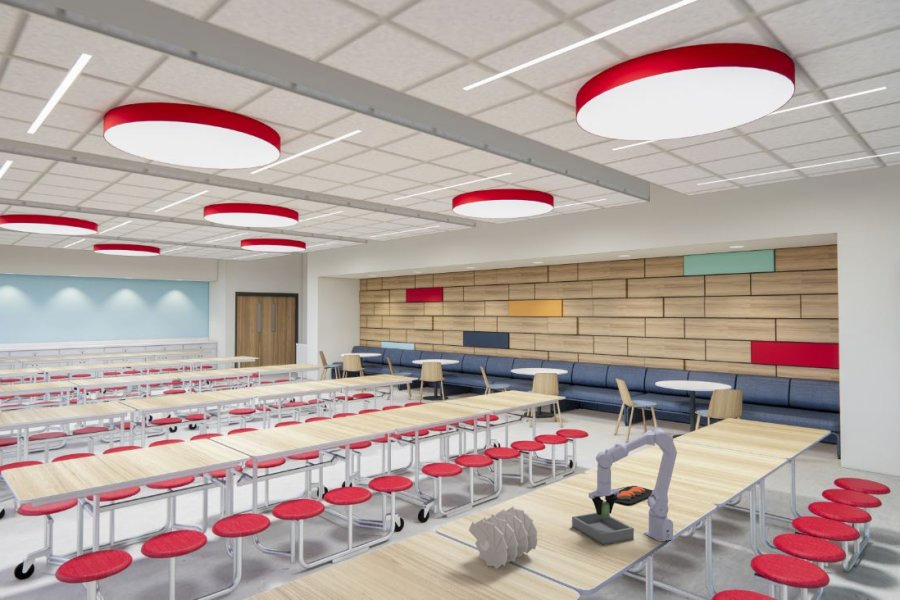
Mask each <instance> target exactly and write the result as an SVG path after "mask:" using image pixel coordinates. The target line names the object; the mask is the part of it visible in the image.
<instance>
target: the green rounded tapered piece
mask: <svg viewBox="0 0 900 600" xmlns="http://www.w3.org/2000/svg"><path fill="white" fill-rule="evenodd" d="M610 514H611V513H610V503H609V502H606V500H603V503H602V511H601V515H598V518H600V519H609V518H610Z"/></svg>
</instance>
